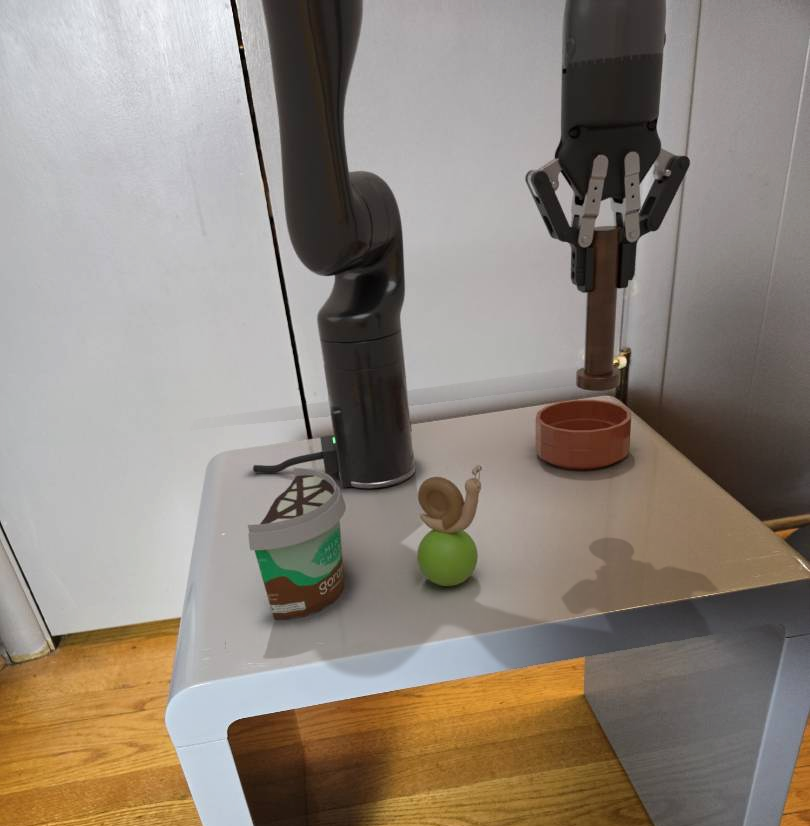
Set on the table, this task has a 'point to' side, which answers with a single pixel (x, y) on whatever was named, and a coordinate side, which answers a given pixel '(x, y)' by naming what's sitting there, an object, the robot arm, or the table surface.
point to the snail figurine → (448, 530)
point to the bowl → (583, 433)
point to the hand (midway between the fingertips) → (601, 287)
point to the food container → (301, 546)
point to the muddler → (601, 314)
